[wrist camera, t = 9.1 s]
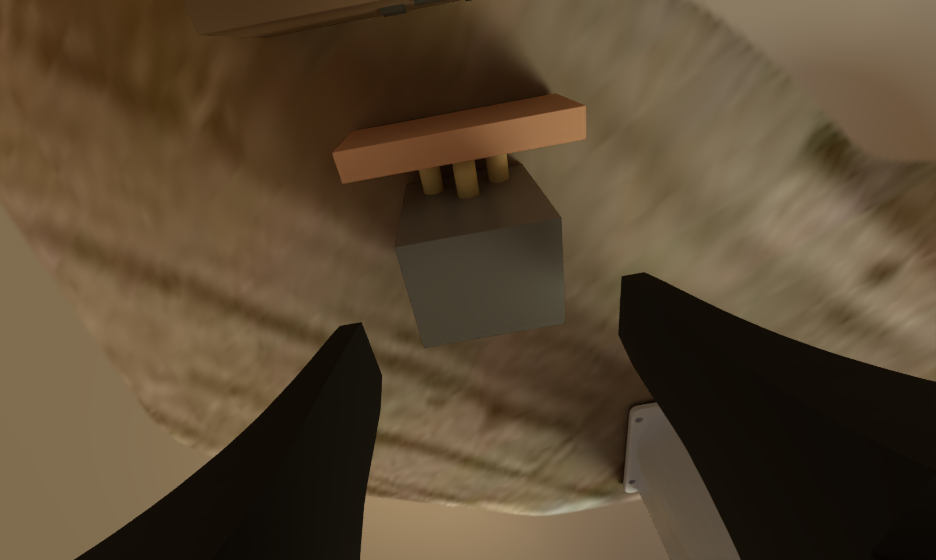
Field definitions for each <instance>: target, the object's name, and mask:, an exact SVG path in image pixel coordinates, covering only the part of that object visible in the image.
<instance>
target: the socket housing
mask: <svg viewBox="0 0 936 560" xmlns="http://www.w3.org/2000/svg"><path fill="white" fill-rule="evenodd" d="M183 1H184V3H185V6H186V8H187V10H188V12H189V15H190V17H191V19H192V21H193V24H194V26H195V28H196V30H197V33H198V35H208V36H235V37H262V38H266V37H271V36H276V35H282V34H287V33H292V32H297V31H303V30H308V29H313V28H318V27H323V26H329V25H334V24H339V23H344V22H349V21H355V20H360V19H365V18H370V17H376V16H381V15H383V16H384V17H387V16H392V15H397V14H403V13H407V12H406V11H407V10H412V9H417V8H422V7H428V6H433V5H438V4H443V3H449V2H454V1H459V0H183ZM466 1H470V0H466Z"/></svg>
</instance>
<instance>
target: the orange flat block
mask: <svg viewBox="0 0 936 560" xmlns="http://www.w3.org/2000/svg"><path fill="white" fill-rule="evenodd" d="M584 139H586V106H585V105H583V104H580V103H578V102H575V101H573V100H570V99H568V98H566V97H563V96H561V95H558V94H556V93H555V94H550V95H544V96H539V97H534V98H528V99H523V100H518V101H512V102H507V103H501V104H496V105H491V106H485V107H480V108H475V109H469V110H464V111H459V112H453V113H448V114H442V115H437V116H432V117H426V118H421V119H416V120H410V121H405V122H400V123H394V124H389V125H383V126H378V127H373V128H367V129H362V130H357V131H352V132H351V133H350V134H349V135H348V136H347V137H346V138H345V139H344V140H343V142H342V143H341V144H340V145H339V146H338V147H337V148H336V149H335V150H334V151H333V152H332V155H333V157H334V160H335V163H336V166H337V169H338V172H339V175H340V178H341V181H342V184H345V183H350V182H356V181H361V180H366V179H372V178H377V177H383V176H388V175H394V174H399V173H404V172H410V171H415V170H421V169H426V168H432V167H437V166H443V165H448V164H453V163H459V162H464V161H470V160H475V159H481V158H486V157H491V156H497V155H502V154H508V153H513V152H519V151H524V150H530V149H535V148H540V147H546V146H551V145H557V144H562V143H568V142H573V141H578V140H584Z"/></svg>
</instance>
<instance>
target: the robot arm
mask: <svg viewBox="0 0 936 560" xmlns="http://www.w3.org/2000/svg"><path fill="white" fill-rule="evenodd" d="M618 335H619V337H620V339H621V341H622V344H623V346H624V348H625V350H626V352H627V354H628V356H629V359H630V361H631V363H632V365H633V366H634V368H635V370H636V371H637V373H638V374H639V376H640V378H641V379H642V381H643V382H644V384H645V385H646V387H647V389H648V390H649V392H650V393H651V395H652V396H653V398H654V399H655V401H656V402H655V403H649V404H643V405H637V406H634V407H633V408H632V409H631V410H630V413H629V424H628V435H627V447H626V458H625V469H624V480H623V488H624V490H625V491H626V492H628V493H632V492H638V491H639V493H640V495H641V497H642V499H643V502H644V504H645V506H646V508H647V510H648V513H649V514H650V517H651V519H652V521H653V523H654V525H655V528H656V530H657V532H658V534H659V536H660V538H661V541H662V543H663V545H664V547H665V550H666V552H667V554H668V556H669V558H670V560H936V382H934V381H930V380H926V379H922V378H918V377H914V376H910V375H907V374H903V373H899V372H895V371H891V370H888V369H884V368H881V367H877V366H874V365H871V364H867V363H864V362H860V361H857V360H854V359H850V358H847V357H843V356H840V355H837V354H834V353H831V352H828V351H825V350H822V349H819V348H816V347H813V346H810V345H808V344H805V343H802V342H799V341H796V340H794V339H791V338H788V337H785V336H782V335H780V334H777V333H775V332H772V331H770V330H767V329H765V328H762V327H760V326H758V325H755V324H753V323H751V322H748V321H746V320H744V319H741V318H739V317H737V316H734V315H732V314H730V313H728V312H726V311H723V310H721V309H719V308H717V307H715V306H713V305H711V304H709V303H706V302H704V301H702V300H700V299H698V298H696V297H694V296H692V295H690V294H688V293H686V292H684V291H682V290H680V289H678V288H676V287H674V286H672V285H670V284H668V283H666V282H664V281H662V280H660V279H658V278H656V277H654V276H651V275H649V274H647V273H644V272H643V273H638V274H632V275H626V276H622V279H621V297H620V315H619V333H618ZM381 392H382V374H381V371H380V369H379V366H378V364H377V361H376V359H375V356H374V353H373V351H372V348H371V346H370V343H369V340H368V338H367V335H366V333H365V330H364V327H363V325H362V322H360V323H354V324H348V325H343V326H339V327H338V329H337V330H336V331H335V332H334V333H333V334H332V335H331V336H330V338H329V339H328V340H327V341H326V342H325V343H324V345H323V346H322V347H321V348H320V349H319V351H318V352H317V353H316V354H315V355H314V357H313V358H312V359H311V360H310V361H309V362H308V364H307V365H306V366H305V367H304V368H303V369H302V371H301V372H300V373H299V374H298V375H297V376H296V377H295V379H294V380H293V381H292V382H291V383H290V384H289V385H288V386H287V387H286V388H285V389H284V390H283V392H282V393H281V394H280V395H279V396H278V397H277V398H276V399H275V400H274V401H273V402H272V403H271V404H270V405H269V406H268V408H267V409H266V410H265V411H264V412H263V413H262V414H261V415H260V416H259V417H258V418H257V419H256V420H255V421H254V422H253V423H252V424H250V425H249V426H248V427H247V428H246V429H245V430H244V431H243V432H242V433H241V434H240V435H239V436H238V437H236V438H235V439H234V440H233V441H232V442H231V443H230V444H229V445H228V446H227V447H225V448H224V449H223V450H222V451H221V452H220V453H219V454H217V455H216V456H215V457H214V458H212V459H211V460H210V461H209V462H207V463H206V464H205V465H204V466H203V467H202V468H200V469H199V470H198V471H196V472H195V473H194V474H193V475H192V476H190V477H189V478H188V479H187V480H185V481H184V482H183V483H182V484H181V485H179V486H178V487H177V488H176V489H174V490H173V491H172V492H170V493H169V494H168V495H166V496H165V497H164V498H162V499H161V500H160V501H158V502H157V503H156V504H155V505H153V506H152V507H151V508H149V509H148V510H146V511H145V512H143V513H142V514H141V515H139V516H138V517H136V518H135V519H133V520H132V521H131V522H129V523H128V524H127V525H125V526H124V527H122V528H121V529H120V530H118V531H117V532H115V533H114V534H112V535H111V536H109V537H108V538H106V539H105V540H103V541H102V542H100V543H99V544H97V545H96V546H95V547H93V548H91V549H90V550H88V551H87V552H85V553H84V554H82V555H81V556H79V557H78V558H76V559H74V560H360V551H361V538H362V525H363V512H364V503H365V496H366V489H367V483H368V477H369V472H370V466H371V461H372V455H373V450H374V444H375V439H376V433H377V427H378V421H379V416H380V409H381Z"/></svg>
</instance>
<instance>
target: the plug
mask: <svg viewBox="0 0 936 560" xmlns="http://www.w3.org/2000/svg"><path fill="white" fill-rule="evenodd" d="M486 163H487V170H486V171H480V172H476V167H475V161H474V160H470V161H464V162H459V163H453V164H452V166H453V172H454V176H453V177H447V178H442V177H441V172H440V167H439V166H437V167H432V168H426V169H421V170H419V173H420V177H421V182H420V183H415V184H409V185H406V190H405V195H404V200H403V205H402V211H401V216H400V221H399V227H398V232H397V237H396V242H395V251H396V254H397V258H398V261H399V264H400V268H401V271H402V275H403V278H404V282H405V285H406V288H407V292H408V295H409V299H410V302H411V305H412V309H413V312H414V316H415V319H416V323H417V326H418V329H419V333H420V336H421V340H422V343H423V346H424V348H427V347H433V346H439V345H444V344H450V343H456V342H462V341H467V340H473V339H479V338H484V337H490V336H496V335H502V334H507V333H513V332H519V331H524V330H530V329H536V328H542V327H547V326H553V325H559V324H564V323H565V305H564V277H563V250H562V222H561V216H560V215H559V214H558V212H557V211H556V210H555V208H554V207H553V205H552V204H551V203H550V201H549V200H548V199H547V197H546V196H545V195H544V193H543V192H542V190H541V189H540V188H539V186H538V185H537V184H536V182H535V181H534V180H533V178H532V177H531V176H530V174H529V173H528V171H527V170H526V169H525V167H524V166H523V165H522V164H518V165H513V166H508V162H507V154H502V155H497V156H491V157H486Z"/></svg>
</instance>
